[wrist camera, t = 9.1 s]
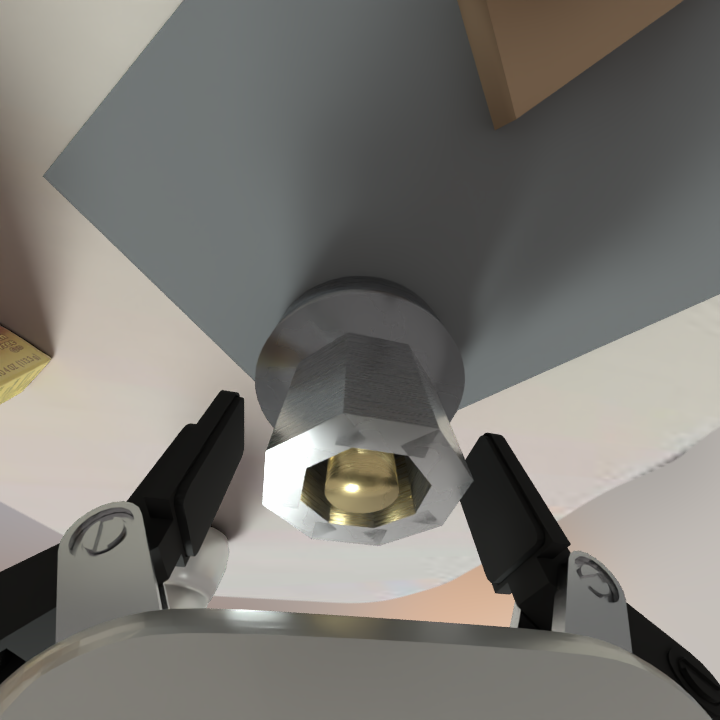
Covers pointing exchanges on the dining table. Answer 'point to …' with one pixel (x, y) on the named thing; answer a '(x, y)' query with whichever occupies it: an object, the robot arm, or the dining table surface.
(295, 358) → the hub
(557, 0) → the stand
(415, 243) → the mat
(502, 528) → the robot arm
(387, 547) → the dining table surface
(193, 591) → the plastic bottle
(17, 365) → the candy box
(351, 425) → the collar
